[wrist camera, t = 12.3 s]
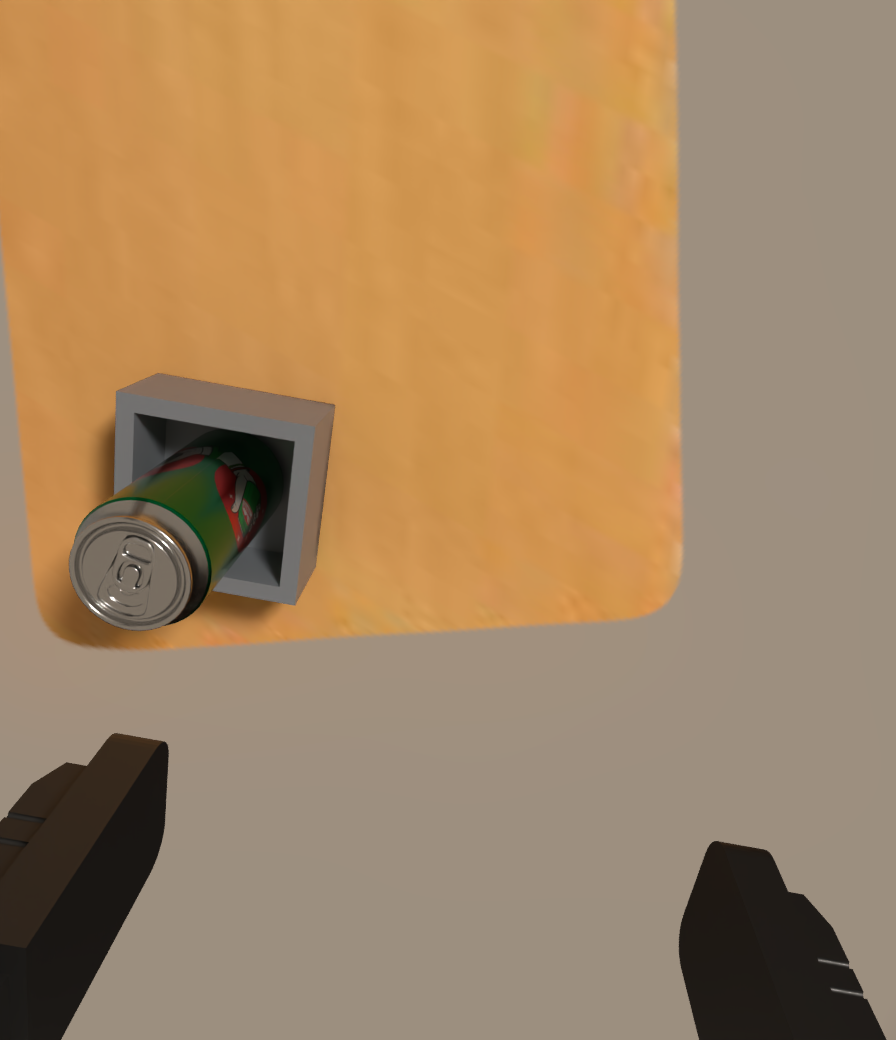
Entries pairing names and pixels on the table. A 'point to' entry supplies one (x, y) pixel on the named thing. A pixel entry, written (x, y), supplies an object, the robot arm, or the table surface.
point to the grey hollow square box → (272, 419)
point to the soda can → (175, 531)
